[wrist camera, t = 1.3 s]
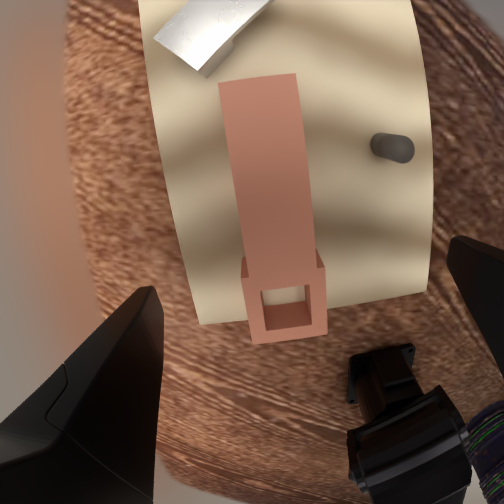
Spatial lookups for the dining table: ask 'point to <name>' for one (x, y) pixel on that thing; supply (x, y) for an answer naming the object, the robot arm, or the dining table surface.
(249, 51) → the board
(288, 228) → the link
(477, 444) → the storage jar
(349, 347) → the dining table surface
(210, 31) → the block
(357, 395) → the robot arm
